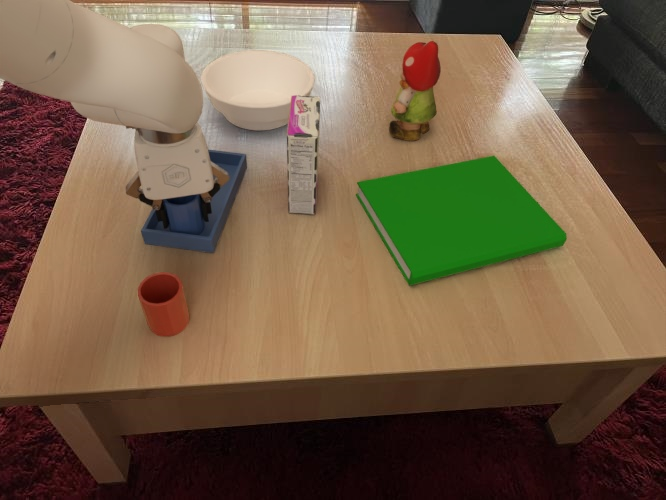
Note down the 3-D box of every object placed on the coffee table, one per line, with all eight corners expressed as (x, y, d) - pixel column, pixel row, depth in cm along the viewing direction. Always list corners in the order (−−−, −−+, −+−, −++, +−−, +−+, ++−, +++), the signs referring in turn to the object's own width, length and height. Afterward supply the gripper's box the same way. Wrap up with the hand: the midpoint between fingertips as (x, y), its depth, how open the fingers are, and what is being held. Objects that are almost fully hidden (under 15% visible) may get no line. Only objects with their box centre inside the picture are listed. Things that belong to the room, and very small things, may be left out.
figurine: (397, 113, 113) (413, 20, 99) (436, 123, 111) (458, 30, 97) (382, 140, 106) (396, 44, 92) (423, 151, 104) (444, 55, 90)
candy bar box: (290, 173, 97) (290, 93, 85) (317, 175, 97) (321, 95, 85) (286, 214, 89) (285, 133, 78) (315, 216, 90) (319, 135, 78)
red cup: (182, 339, 71) (173, 308, 66) (142, 333, 72) (130, 302, 67) (194, 306, 75) (187, 275, 70) (156, 301, 75) (146, 269, 70)
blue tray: (213, 253, 82) (211, 239, 80) (144, 244, 83) (140, 230, 81) (247, 167, 98) (246, 153, 96) (188, 159, 98) (185, 146, 96)
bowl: (329, 133, 107) (331, 96, 101) (219, 153, 100) (215, 115, 94) (293, 79, 121) (293, 43, 115) (195, 93, 114) (190, 56, 108)
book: (355, 194, 94) (357, 181, 92) (489, 168, 102) (494, 155, 100) (410, 288, 80) (413, 275, 78) (561, 248, 88) (568, 235, 85)
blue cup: (199, 241, 83) (193, 208, 78) (164, 236, 84) (156, 203, 79) (209, 217, 87) (204, 184, 82) (176, 213, 87) (169, 180, 82)
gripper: (98, 146, 67) (130, 245, 80) (234, 130, 71) (243, 226, 84) (98, 114, 71) (128, 212, 85) (225, 100, 75) (235, 196, 89)
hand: (185, 218), depth 84 cm, fingers closed on blue cup, 5 cm apart
